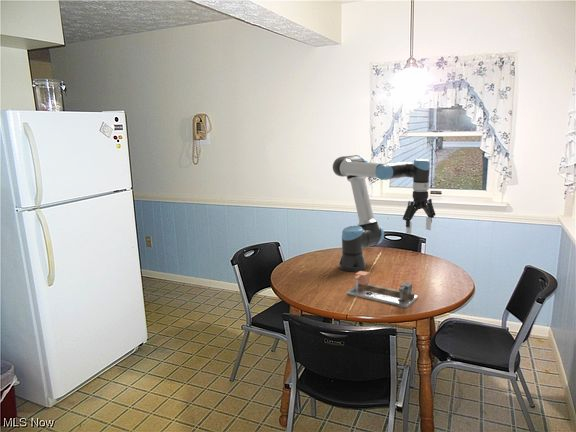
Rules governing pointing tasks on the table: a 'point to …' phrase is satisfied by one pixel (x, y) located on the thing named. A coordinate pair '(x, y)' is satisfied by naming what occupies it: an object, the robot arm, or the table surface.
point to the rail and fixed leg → (392, 290)
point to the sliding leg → (361, 278)
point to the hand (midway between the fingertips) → (418, 231)
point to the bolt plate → (381, 296)
